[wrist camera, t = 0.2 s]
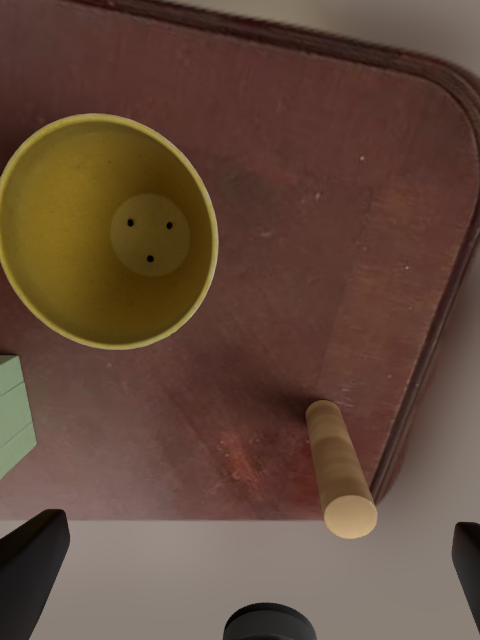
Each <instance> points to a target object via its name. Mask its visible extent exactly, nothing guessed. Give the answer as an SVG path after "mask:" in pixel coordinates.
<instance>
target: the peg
mask: <svg viewBox="0 0 480 640" xmlns="http://www.w3.org/2000/svg"><path fill="white" fill-rule="evenodd" d="M305 418H306V424H307V429H308V435H309V440H310V446H311V451H312V457H313V463H314V468H315V474H316V479H317V485H318V491H319V496H320V502H321V507H322V513H323V519H324V522H325V525H326V526H327V528H328V529H329V530H330V531H331V532H332V533H333V534H335V535H337V536H339V537H342V538H347V539H354V538H359V537H362V536H364V535H366V534H368V533H369V532H370V531H372V529H373V528H374V527H375V525H376V523H377V518H378V515H377V510H376V507H375V505H374V502H373V499H372V496H371V494H370V491H369V488H368V486H367V483H366V480H365V477H364V475H363V472H362V469H361V466H360V464H359V461H358V458H357V456H356V453H355V450H354V447H353V445H352V442H351V439H350V437H349V434H348V431H347V428H346V426H345V423H344V420H343V418H342V415H341V412H340V410H339V408H338V406H337V405H336V404H334V403H333V402H331V401H327V400H319V401H316V402H314V403H312V404H311V405H310V406H309V407H308V409H307V411H306V414H305Z"/></svg>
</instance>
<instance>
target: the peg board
mask: <svg viewBox="0 0 480 640" xmlns="http://www.w3.org/2000/svg"><path fill="white" fill-rule="evenodd" d="M36 445H37V442H36V437H35V432H34V427H33V422H32V417H31V412H30V407H29V402H28V397H27V392H26V387H25V383H24V379H23V374H22V369H21V364H20V360H19V356H18V355H0V479H1V478H2V477H3V476H4V475H5V474H6V473H7V472H8V471H10V470H11V469H12V468H13V467H14V466H15V465H16V464H17V463H18V462H19V461H20V460H21V459H22V458H23V457H24V456H25V455H26V454H27V453H28V452H29V451H30V450H32V449H33V448H34V447H35V446H36Z"/></svg>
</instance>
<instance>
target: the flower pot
mask: <svg viewBox="0 0 480 640" xmlns="http://www.w3.org/2000/svg"><path fill="white" fill-rule="evenodd" d="M129 219H131V220H133V222H134V223H133V226H132V227H130V226H129V225H128V220H129ZM169 222H171V223H172V228H171V229H168V228H167V226H166V225H167V223H169ZM149 255H151V256H153V258H154V261H153V262H148V260H147V257H148V256H149ZM217 256H218V228H217V221H216V216H215V212H214V209H213V205H212V202H211V199H210V197H209V194H208V192H207V190H206V188H205V186H204V184H203V182H202V180H201V178H200V176H199V175H198V173H197V172H196V170H195V169H194V167H193V166H192V164H191V163H190V162H189V160H188V159H187V158H186V157H185V156H184V155H183V153H182V152H181V151H179V150H178V149H177V148H176V147H175V146H174V145H173V144H172V143H171V142H170V141H168V140H167V139H166V138H164V137H163V136H162V135H160V134H159V133H157V132H155V131H154V130H152V129H150V128H148V127H147V126H145V125H142V124H140V123H138V122H136V121H133V120H130V119H127V118H123V117H120V116H115V115H109V114H94V113H92V114H79V115H75V116H69V117H66V118H62V119H60V120H57V121H55V122H52V123H50V124H47V125H46V126H44V127H43V128H41V129H39V130H38V131H37V132H35V133H34V134H33V135H31V136H30V137H29V138H28V139H27V140H26V141H24V143H23V144H22V145H21V146H20V147H19V148H18V149H17V150H16V152H15V153H14V154H13V156H12V157H11V159H10V160H9V161H8V164H7V165H6V167H5V169H4V171H3V174H2V175H1V178H0V262H1V264H2V267H3V270H4V272H5V274H6V276H7V278H8V280H9V282H10V284H11V286H12V287H13V289H14V291H15V292H16V293H17V295H18V296H19V298H20V299H21V300H22V302H23V303H24V304H25V305H26V306H27V308H28V309H29V310H30V311H31V312H32V313H33V314H34V315H35V316H36V317H37V318H38V319H40V320H41V321H42V322H43V323H44V324H45V325H47V326H48V327H50V328H51V329H52V330H54V331H55V332H57V333H59V334H60V335H62V336H64V337H66V338H68V339H70V340H73V341H75V342H77V343H81V344H83V345H87V346H90V347H95V348H101V349H109V350H125V349H134V348H139V347H144V346H147V345H150V344H152V343H155V342H157V341H159V340H161V339H163V338H165V337H167V336H169V335H170V334H172V333H174V332H175V331H176V330H178V329H179V328H180V327H181V326H183V325H184V324H185V323H186V322H187V321H188V320H189V319H190V318H191V316H192V315H193V314H194V313H195V312H196V310H197V309H198V308H199V306H200V305H201V303H202V301H203V300H204V298H205V296H206V294H207V292H208V289H209V287H210V285H211V282H212V279H213V276H214V272H215V268H216V263H217Z"/></svg>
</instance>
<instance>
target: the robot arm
mask: <svg viewBox="0 0 480 640" xmlns="http://www.w3.org/2000/svg"><path fill="white" fill-rule="evenodd" d="M69 543H70V533H69V529H68V523H67V518H66V513H65V512H64V510H61V509H47V510H44V511H43V512H41V513H40V514H38V515H36V516H35V517H33V518H32V519H30V520H29V521H27V522H26V523H25V524H23V525H21V526H20V527H18V528H17V529H15V530H14V531H12V532H11V533H9V534H7V535H6V536H4V537H3V538H1V539H0V640H29V638H30V636H31V634H32V632H33V630H34V628H35V625H36V624H37V622H38V620H39V617H40V615H41V613H42V611H43V608H44V606H45V604H46V601H47V599H48V596H49V594H50V591H51V589H52V587H53V584H54V582H55V579H56V577H57V574H58V572H59V569H60V567H61V565H62V562H63V560H64V558H65V555H66V553H67V550H68V547H69ZM452 560H453V563H454V566H455V569H456V572H457V575H458V577H459V580H460V583H461V585H462V588H463V591H464V593H465V596H466V599H467V601H468V604H469V607H470V609H471V612H472V615H473V617H474V620H475V623H476V625H477V628H478V631H479V634H480V524H478V523H474V522H458V523H457V524H456V525H455V531H454V537H453V546H452ZM233 640H235V639H233Z"/></svg>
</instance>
